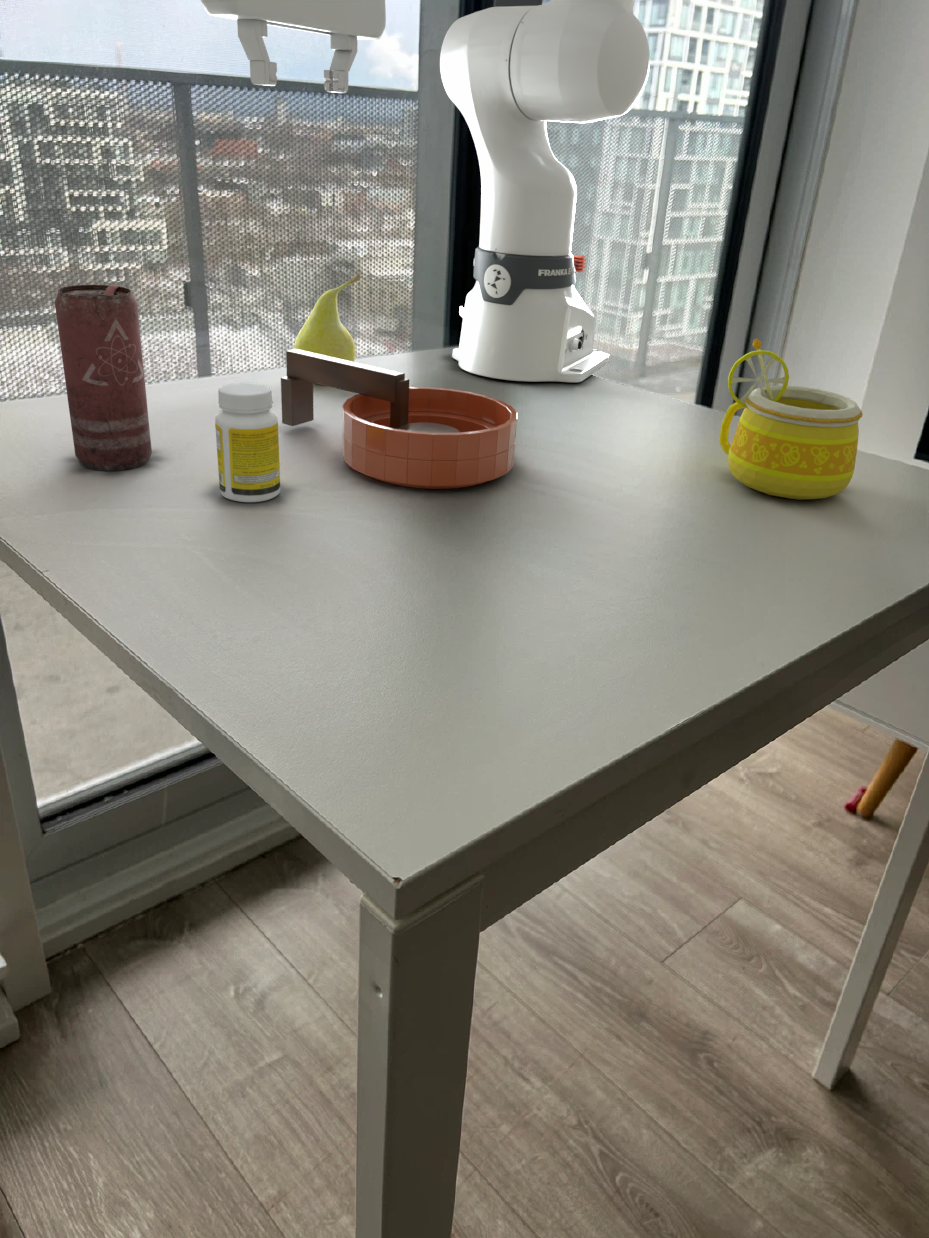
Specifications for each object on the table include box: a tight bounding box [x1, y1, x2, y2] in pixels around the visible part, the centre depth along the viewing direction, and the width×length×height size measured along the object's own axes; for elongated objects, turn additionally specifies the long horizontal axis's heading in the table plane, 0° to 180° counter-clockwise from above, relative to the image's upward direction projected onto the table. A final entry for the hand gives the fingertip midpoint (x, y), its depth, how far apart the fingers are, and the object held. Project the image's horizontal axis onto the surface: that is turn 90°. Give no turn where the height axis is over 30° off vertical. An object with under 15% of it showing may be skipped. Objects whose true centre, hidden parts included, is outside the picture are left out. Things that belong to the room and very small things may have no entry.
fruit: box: [293, 273, 362, 362], centre depth 106 cm, size 7×8×12 cm
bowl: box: [341, 386, 518, 490], centre depth 83 cm, size 15×15×5 cm
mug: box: [718, 338, 863, 501], centre depth 83 cm, size 13×11×12 cm
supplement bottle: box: [214, 382, 281, 503], centre depth 73 cm, size 5×5×8 cm
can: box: [54, 284, 153, 472], centre depth 77 cm, size 6×6×14 cm
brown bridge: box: [280, 348, 460, 433], centre depth 86 cm, size 19×6×7 cm, turn 56°
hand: (301, 89), depth 85 cm, fingers open, 8 cm apart
